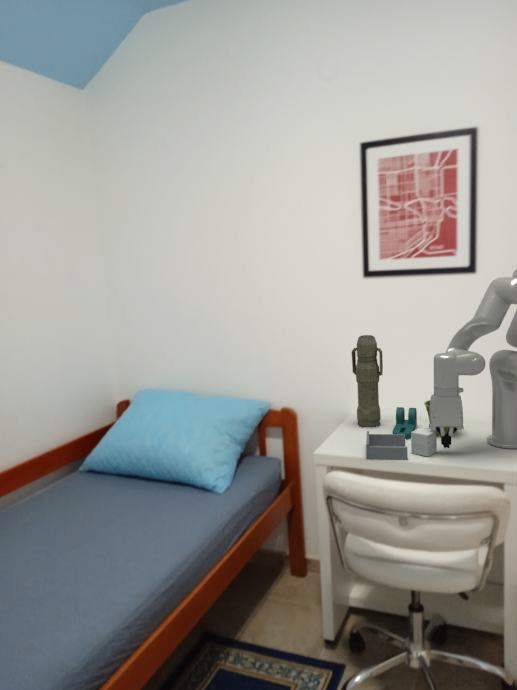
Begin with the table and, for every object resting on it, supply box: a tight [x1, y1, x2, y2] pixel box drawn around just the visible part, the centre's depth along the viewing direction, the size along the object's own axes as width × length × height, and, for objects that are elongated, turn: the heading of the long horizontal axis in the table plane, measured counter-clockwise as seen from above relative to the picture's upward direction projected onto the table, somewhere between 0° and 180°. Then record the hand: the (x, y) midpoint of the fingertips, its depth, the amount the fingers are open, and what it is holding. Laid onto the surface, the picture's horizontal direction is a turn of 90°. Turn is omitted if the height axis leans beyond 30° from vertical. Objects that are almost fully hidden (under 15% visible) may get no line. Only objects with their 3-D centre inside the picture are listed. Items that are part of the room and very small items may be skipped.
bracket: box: [391, 406, 418, 440], centre depth 200 cm, size 18×7×8 cm, turn 157°
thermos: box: [351, 334, 384, 428], centre depth 209 cm, size 9×12×35 cm
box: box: [365, 430, 409, 461], centre depth 180 cm, size 13×14×5 cm
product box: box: [410, 427, 438, 457], centre depth 177 cm, size 6×6×7 cm
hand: (446, 446), depth 176 cm, fingers closed
